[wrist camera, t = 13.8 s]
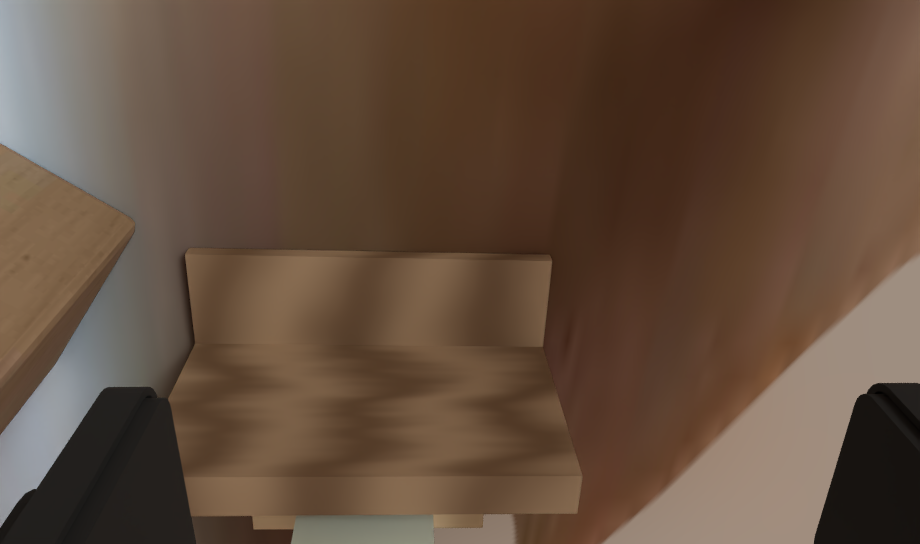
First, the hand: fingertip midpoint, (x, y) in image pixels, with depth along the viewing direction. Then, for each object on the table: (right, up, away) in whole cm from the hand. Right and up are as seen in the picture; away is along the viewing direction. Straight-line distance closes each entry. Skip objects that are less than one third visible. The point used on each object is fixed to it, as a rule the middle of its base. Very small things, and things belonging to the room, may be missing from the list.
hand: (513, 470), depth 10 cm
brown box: (-5, -2, +30) cm, 31 cm away
